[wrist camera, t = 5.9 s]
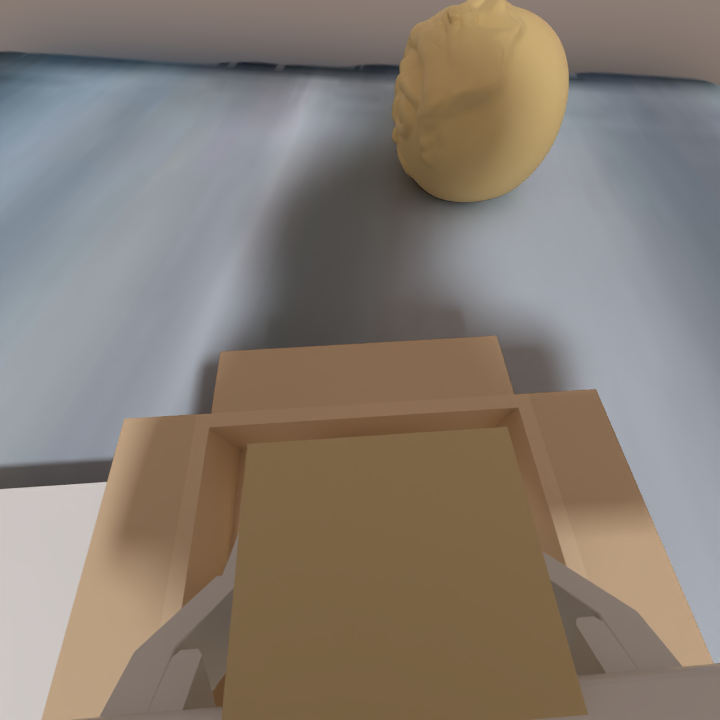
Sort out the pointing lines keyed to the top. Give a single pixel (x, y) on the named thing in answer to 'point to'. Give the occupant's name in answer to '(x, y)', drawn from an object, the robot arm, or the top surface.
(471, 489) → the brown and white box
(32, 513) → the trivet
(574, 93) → the top surface
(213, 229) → the top surface
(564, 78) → the sculpture
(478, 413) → the carton
